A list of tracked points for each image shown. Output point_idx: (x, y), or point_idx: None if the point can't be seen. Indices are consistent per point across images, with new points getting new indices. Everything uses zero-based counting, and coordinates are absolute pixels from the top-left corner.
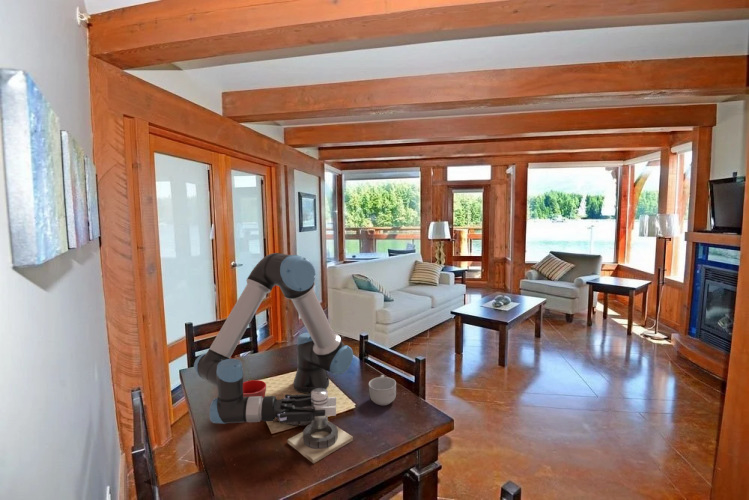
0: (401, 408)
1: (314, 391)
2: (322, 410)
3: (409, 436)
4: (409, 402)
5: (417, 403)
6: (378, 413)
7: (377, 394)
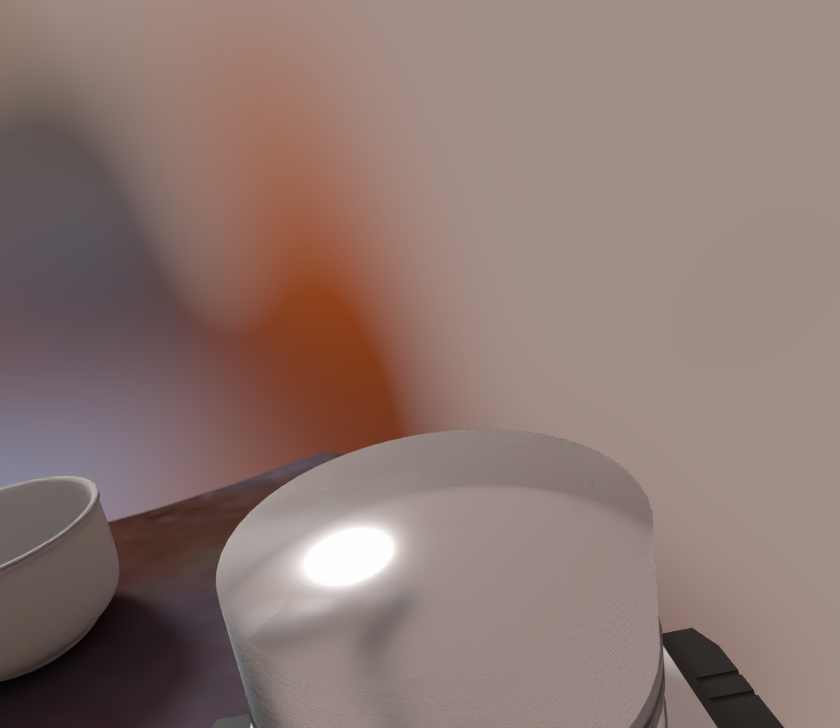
0: (173, 557)
1: (398, 604)
2: (685, 668)
3: None
4: (136, 537)
5: (164, 514)
6: (165, 645)
7: (62, 573)
